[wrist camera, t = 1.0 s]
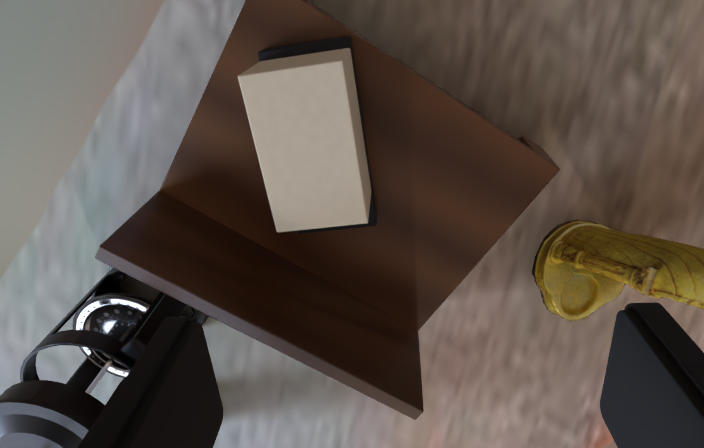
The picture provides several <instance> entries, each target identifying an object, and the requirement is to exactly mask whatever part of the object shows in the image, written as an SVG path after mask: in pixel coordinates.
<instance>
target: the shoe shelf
mask: <svg viewBox="0 0 704 448" xmlns="http://www.w3.org/2000/svg"><path fill="white" fill-rule="evenodd" d="M349 35H350V36H351V40H352V47H353V54H354V61H355V68H356V74H357V81H358V88H359V95H360V102H361V109H362V116H363V122H364V129H365V136H366V143H367V150H368V157H369V164H370V170H371V177H372V184H373V191H374V198H375V205H376V212H377V225H376V226H370V227H360V228H350V229H341V230H331V231H321V232H311V233H302V234H299V233H298V230H297V231H287V232H277V231H276V227H275V223H274V219H273V215H272V211H271V207H270V203H269V199H268V195H267V191H266V187H265V183H264V179H263V175H262V171H261V167H260V163H259V159H258V155H257V151H256V147H255V143H254V139H253V135H252V131H251V127H250V123H249V119H248V115H247V111H246V107H245V103H244V99H243V96H242V92H241V88H240V84H239V80H238V76H239V75H240V74H242V73H243V72H245V71H246V70H248V69H249V68H251V67H252V66H254V65H255V64H257V63H258V62H259V58H258V52H259V51H261V50H263V49H266V48H273V47H279V46H285V45H292V44H298V43H304V42H311V41H317V40H323V39H330V38H336V37H343V36H349ZM559 170H560V168H559V167H558V166H557V165H556V164H555V163H554V161H553V160H552V159H551V158H550V157H549V155H548V154H547V153H546V152H545V151H544V150H543V149H542V148H540V147H539V146H537V145H536V144H534V143H533V142H531V141H530V140H528V139H527V138H525V137H524V136H522V137H521V138H520V139H519V140H518V139H516V138H515V137H513V136H512V135H510V134H509V133H507V132H506V131H504V130H503V129H501V128H500V127H498V126H496V125H495V124H493V123H492V122H490V121H489V120H487V119H486V118H484V117H483V116H481V115H480V114H478V113H477V112H475V111H474V110H472V109H471V108H469V107H468V106H466V105H465V104H463V103H462V102H460V101H458V100H457V99H455V98H454V97H452V96H451V95H449V94H448V93H446V92H445V91H443V90H442V89H440V88H439V87H437V86H436V85H434V84H433V83H431V82H430V81H428V80H427V79H425V78H423V77H422V76H420V75H419V74H417V73H416V72H414V71H413V70H411V69H410V68H408V67H407V66H405V65H404V64H402V63H401V62H399V61H398V60H396V59H395V58H393V57H392V56H390V55H389V54H387V53H385V52H384V51H382V50H381V49H379V48H378V47H376V46H375V45H373V44H372V43H370V42H369V41H367V40H366V39H364V38H363V37H361V36H360V35H358V34H357V33H355V32H354V31H352V30H351V29H349V28H347V27H346V26H344V25H343V24H341V23H340V22H338V21H337V20H335V19H334V18H332V17H331V16H329V15H328V14H326V13H325V12H323V11H322V10H320V9H319V8H317V7H316V6H314V5H312V4H311V3H309V2H308V1H306V0H246V1H245V3H244V5H243V8H242V10H241V12H240V14H239V17H238V19H237V21H236V23H235V25H234V28H233V30H232V32H231V34H230V36H229V39H228V41H227V43H226V45H225V47H224V50H223V52H222V54H221V56H220V58H219V61H218V63H217V65H216V67H215V70H214V72H213V74H212V76H211V78H210V81H209V83H208V85H207V87H206V89H205V92H204V94H203V96H202V98H201V100H200V103H199V105H198V107H197V109H196V111H195V114H194V116H193V118H192V120H191V123H190V125H189V127H188V129H187V131H186V134H185V136H184V138H183V140H182V142H181V145H180V147H179V149H178V151H177V153H176V156H175V158H174V160H173V162H172V164H171V167H170V169H169V171H168V173H167V176H166V178H165V180H164V182H163V184H162V187H161V189H160V191H158V192H157V193H156V194H155V195H154V196H153V197H152V198H151V199H150V200H149V201H148V202H147V203H145V204H144V205H143V206H142V207H141V208H140V209H139V210H138V211H137V212H136V213H135V214H134V215H133V216H131V217H130V218H129V219H128V220H127V221H126V222H125V223H124V224H123V225H122V226H121V227H120V228H119V229H117V230H116V231H115V232H114V233H113V234H112V235H111V236H110V237H109V238H108V239H107V240H106V241H105V242H103V243H102V244H101V245H100V246H99V249H98V251H97V254H96V256H95V258H96V259H98V260H100V261H102V262H104V263H106V264H108V265H110V266H112V267H114V268H116V269H118V270H119V271H121V272H123V273H125V274H127V275H129V276H131V277H133V278H135V279H137V280H139V281H141V282H143V283H145V284H147V285H149V286H151V287H153V288H155V289H157V290H159V291H161V292H163V293H165V294H167V295H169V296H171V297H173V298H175V299H177V300H179V301H181V302H183V303H185V304H187V305H189V306H191V307H193V308H195V309H197V310H199V311H201V312H203V313H205V314H207V315H209V316H211V317H212V318H214V319H216V320H218V321H220V322H222V323H224V324H226V325H228V326H230V327H232V328H234V329H236V330H238V331H240V332H242V333H244V334H246V335H248V336H250V337H252V338H254V339H256V340H258V341H260V342H262V343H264V344H266V345H268V346H270V347H272V348H274V349H276V350H278V351H280V352H282V353H284V354H286V355H288V356H290V357H292V358H294V359H296V360H298V361H300V362H302V363H304V364H306V365H307V366H309V367H311V368H313V369H315V370H317V371H319V372H321V373H323V374H325V375H327V376H329V377H331V378H333V379H335V380H337V381H339V382H341V383H343V384H345V385H347V386H349V387H351V388H353V389H355V390H357V391H359V392H361V393H363V394H365V395H367V396H369V397H371V398H373V399H375V400H377V401H379V402H381V403H383V404H385V405H387V406H389V407H391V408H393V409H395V410H397V411H399V412H400V413H402V414H404V415H406V416H408V417H410V418H412V419H414V420H415V419H417V418H418V417H419V416H420V415H421V414H422V413H423V411H424V410H423V395H422V380H421V366H420V351H419V336H418V330H419V329H420V328H421V327H422V326H423V325H424V323H425V322H426V321H427V320H428V319H429V318H430V317H431V315H432V314H433V313H434V312H435V311H436V310H437V309H438V307H439V306H440V305H441V304H442V303H443V302H444V301H445V300H446V298H447V297H448V296H449V295H450V294H451V293H452V292H453V290H454V289H455V288H456V287H457V286H458V285H459V284H460V282H461V281H462V280H463V279H464V278H465V277H466V276H467V275H468V273H469V272H470V271H471V270H472V269H473V268H474V267H475V265H476V264H477V263H478V262H479V261H480V260H481V259H482V258H483V256H484V255H485V254H486V253H487V252H488V251H489V250H490V248H491V247H492V246H493V245H494V244H495V243H496V242H497V240H498V239H499V238H500V237H501V236H502V235H503V234H504V233H505V231H506V230H507V229H508V228H509V227H510V226H511V225H512V223H513V222H514V221H515V220H516V219H517V218H518V217H519V216H520V214H521V213H522V212H523V211H524V210H525V209H526V208H527V206H528V205H529V204H530V203H531V202H532V201H533V200H534V198H535V197H536V196H537V195H538V194H539V193H540V192H541V191H542V189H543V188H544V187H545V186H546V185H547V184H548V183H549V181H550V180H551V179H552V178H553V177H554V176H555V175H556V174H557V172H558V171H559Z"/></svg>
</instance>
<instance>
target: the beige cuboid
mask: <svg viewBox="0 0 704 448" xmlns="http://www.w3.org/2000/svg"><path fill="white" fill-rule="evenodd" d="M258 58H259V62H258V63H257V64H255V65H254V66H252V67H251V68H249V69H248V70H246V71H245V72H243V73H242V74H240V75H239V76H238V80H239V84H240V88H241V92H242V96H243V99H244V103H245V107H246V111H247V115H248V119H249V123H250V127H251V131H252V135H253V139H254V143H255V147H256V151H257V155H258V159H259V163H260V167H261V171H262V175H263V179H264V183H265V187H266V191H267V195H268V199H269V203H270V207H271V211H272V215H273V219H274V223H275V227H276V231H277V232H287V231H297V230H298V233H299V234H302V233H311V232H321V231H331V230H341V229H350V228H360V227H370V226H376V225H377V212H376V205H375V198H374V191H373V184H372V177H371V170H370V164H369V157H368V150H367V143H366V136H365V129H364V122H363V116H362V109H361V102H360V95H359V88H358V81H357V74H356V68H355V61H354V54H353V47H352V40H351V36H350V35H349V36H343V37H336V38H330V39H323V40H317V41H311V42H304V43H298V44H292V45H285V46H279V47H273V48H266V49H263V50H261V51H259V52H258Z"/></svg>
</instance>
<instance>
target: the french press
mask: <svg viewBox="0 0 704 448" xmlns="http://www.w3.org/2000/svg"><path fill="white" fill-rule="evenodd" d="M124 274H125V273H123V272H121V271H119V270H118V269H116V268H114V267H112V266H111V267H110V270H109V272H108V273H107V274H106V275H105V276H104V277H103V278H102V279H101V280H100V281H99V282H98V283H97V284H96V285H95V286H94V287H93V288H92V289H91V290H90V291H89V293H88V294H87V295H86V296H85V297H84V298H83V299H82V300H81V301H80V302H79V303H78V304H77V305H76V306H75V307H74V308H73V309H72V310H71V311H70V312H69V313H68V314H67V316H66V317H65V318H64V319H63V320H62V321H61V322H60V323H59V324H58V325H57V326H56V327H55V328H54V329H53V330H52V331H51V332H50V333H49V334H48V335H47V336H46V337H45V338H44V340H43V341H42V342H41V343H40V344H39V345H38V346H37V347H36V348H35V349H34V350H33V351H32V352H31V353H30V354H29V355H28V357H27V358H26V359H25V360H24V362H23V365H22V367H21V372H20V380H21V383H18V384H15V385H13V386H11V387H10V388H8V389H7V390H5V392H4V393H3V394H2V395H1V396H0V448H78V446H79V444H80V443H81V441H82V440H83V438H84V437H85V435H86V434H87V432H88V431H89V429H90V428H91V426H92V425H93V423H94V422H95V420H96V419H97V417H98V416H99V414H100V413H101V411H102V410H103V408H104V407H105V405H104V404H103V403H101V402H100V401H99V400H97V399H96V398H94V397H93V396H91V395H90V394H91V392H92V391H93V389H94V388H95V387H96V385H97V384H98V383H99V381H100V380H101V378H102V377H103V376H104V374H105V373H106V371H107V372H109V373H111V374H113V375H115V376H119V377H122V378H125V377H126V376H127V375H128V373H129V372H130V370H131V369H132V367H133V366H134V364H135V363H136V361H137V360H138V358H139V356H140V355H141V353H142V352H143V350H144V349H145V347H146V346H147V344H148V343H149V341H150V340H151V338H152V337H153V335H154V334H155V332H156V330H157V329H158V327H159V326H160V324H161V323H162V321H163V320H164V319H165V318H167V317H180V315H181V314H182V312H183V311H184V309H185V307H186V306H187V304H185V303H183V302H181V301H179V300H177V299H175V298H173V297H171V296H169V295H167V294H165V293H163V292H160V294H159V295H158V296H157V298H156V299H155V300H154V302H153V303H152V302H150V301H148V300H146V299H144V298H141V297H138V296H134V295H130V294H125V293H122V286H121V284H122V278H123V276H124ZM91 296H92V298H91V299H90V300H88V299H89V298H90V297H91ZM87 300H88V301H87ZM86 301H87V302H86ZM191 308H192V310H193V313H194V314H193V315H192V316H191V317H192V318H193V319H194V321H195V322H199V323H200V324H201V325H203V324H204V323H205V322H206V320H207V319H208V317H209V315H207V314H205V313H203V312H201V311H199V310H197V309H195V308H193V307H191ZM75 313H76V314H75ZM74 314H75V316H74V318H73V330H67V331H60V332H58V331H59V330H60V329H61V327H62V326H63V325H64V324H65V323H66V322H67V321H68V320H69V319H70V318H71V317H72V316H73V315H74ZM57 332H58V333H57ZM58 345H75V346H79V347H80V349H81V351H82V352H83V353H84V354H85V355H86V356H87V358H86V359H85V361H84V362H83V363H82V364H81V366H80V367H79V368H78V369H77V371H76V372H75V373H74V375H73V376H72V377H71V378H70V380H69V381H68V382H67V383H66V384H63V383H59V382H53V381H47V380H39V378H38V375H37V372H36V366H35V364H36V356H37V353H38V351H40V350H42V349H45V348H48V347H52V346H58Z"/></svg>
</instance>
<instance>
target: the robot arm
mask: <svg viewBox="0 0 704 448" xmlns="http://www.w3.org/2000/svg"><path fill="white" fill-rule="evenodd" d="M600 409H601V414H602V417H603V419H604V421H605V423H606V425H607V427H608V429H609V431H610V433H611V435H612V437H613V439H614V441H615V443H616V445H617V447H618V448H704V353H703V352H702V351H701V349H700V348H699V347H698V346H697V345H696V344H695V343H694V341H693V340H692V339H691V338H690V337H689V336H688V335H687V333H686V332H685V331H684V330H683V329H682V328H681V327H680V325H679V324H678V323H677V322H676V321H675V320H674V319H673V318H672V316H671V315H670V314H669V313H668V312H667V311H666V310H665V308H664V307H663V306H662V305H661V304H659V303H630V304H627V306H626V307H625V310H620V311H619V312H618V313H617V317H616V322H615V327H614V332H613V337H612V343H611V348H610V353H609V358H608V363H607V369H606V374H605V379H604V384H603V389H602V395H601V400H600ZM222 419H223V406H222V402H221V398H220V394H219V390H218V386H217V382H216V378H215V374H214V370H213V367H212V363H211V359H210V355H209V351H208V347H207V343H206V339H205V335H204V331H203V328H202V325H201V324H200V323H199V322H195V321H194V319H193V318H192V317H190V316H186V317H167V318H165V319H164V320H163V321H162V323H161V324H160V326H159V327H158V329H157V330H156V332H155V334H154V335H153V337H152V338H151V340H150V341H149V343H148V344H147V346H146V347H145V349H144V350H143V352H142V353H141V355H140V356H139V358H138V360H137V361H136V363H135V364H134V366H133V367H132V369H131V370H130V372H129V373H128V375H127V376H126V377H125V378H124V379H123V380H122V381H121V383H120V384H119V385H118V387H117V388H116V390H115V391H114V393H113V394H112V396H111V397H110V399H109V401H108V402H107V404H106V405H105V407H104V408H103V410H102V411H101V413H100V414H99V416H98V417H97V419H96V420H95V422H94V423H93V425H92V426H91V428H90V429H89V431H88V432H87V434H86V435H85V437H84V438H83V440H82V441H81V443H80V444H79V446H78V448H213V445H214V443H215V440H216V437H217V435H218V432H219V429H220V426H221V423H222Z"/></svg>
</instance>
